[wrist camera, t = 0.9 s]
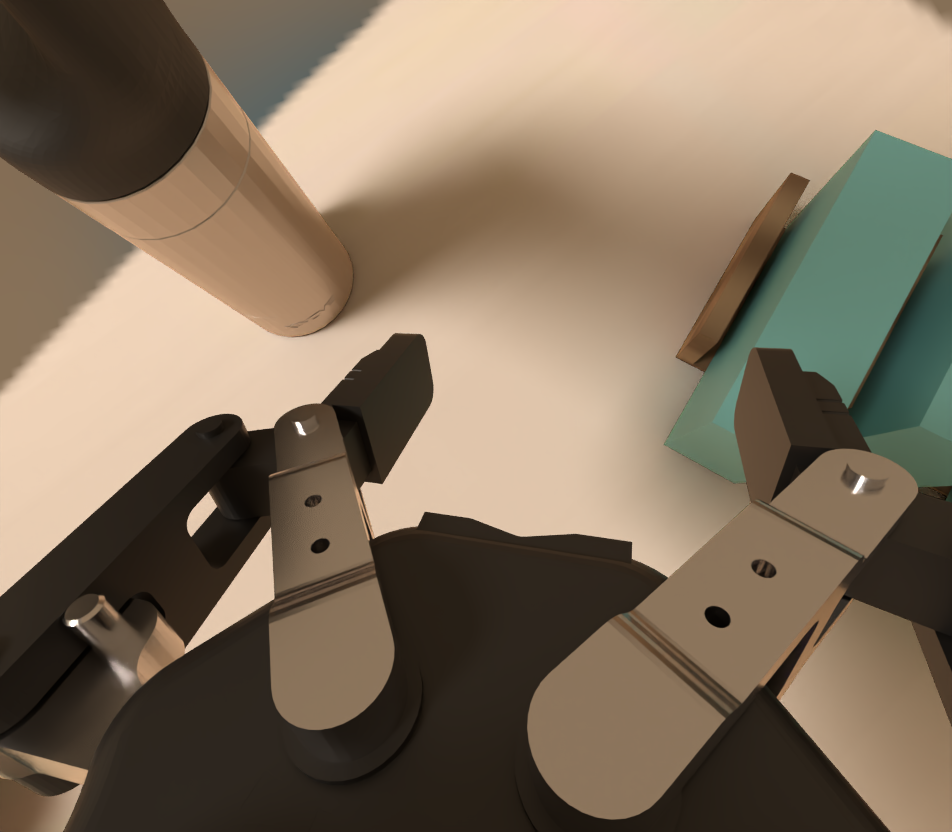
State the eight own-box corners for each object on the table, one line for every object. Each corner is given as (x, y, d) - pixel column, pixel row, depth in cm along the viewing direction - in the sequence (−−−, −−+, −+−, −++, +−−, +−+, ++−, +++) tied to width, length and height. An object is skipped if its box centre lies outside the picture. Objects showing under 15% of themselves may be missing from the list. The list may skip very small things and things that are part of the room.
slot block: (1062, 555, 29) (1168, 565, 24) (675, 357, 34) (699, 332, 29) (1140, 387, 30) (1257, 365, 25) (755, 218, 35) (791, 172, 30)
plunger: (734, 483, 32) (812, 475, 23) (663, 444, 32) (712, 422, 24) (858, 257, 33) (975, 168, 24) (787, 226, 34) (875, 129, 25)
